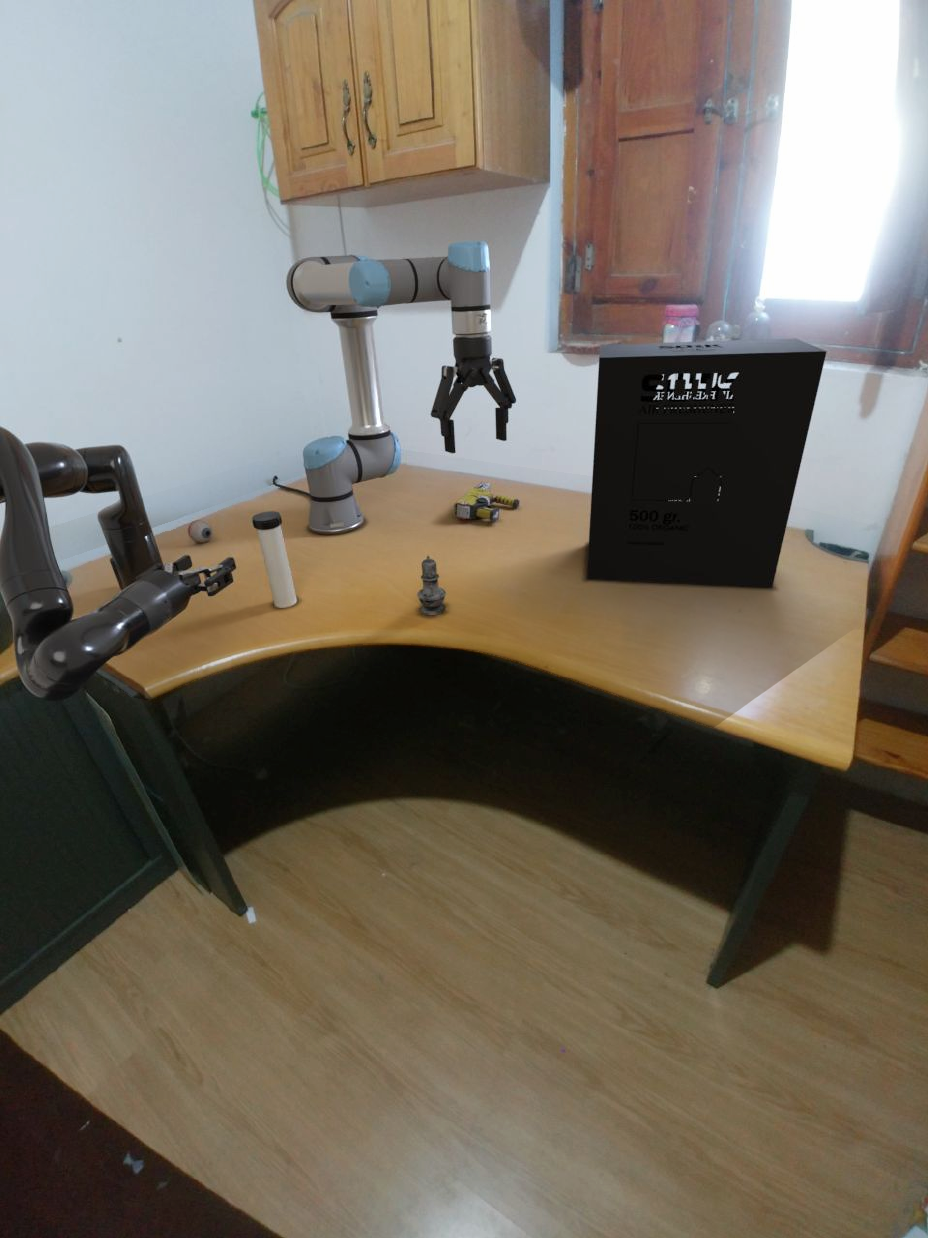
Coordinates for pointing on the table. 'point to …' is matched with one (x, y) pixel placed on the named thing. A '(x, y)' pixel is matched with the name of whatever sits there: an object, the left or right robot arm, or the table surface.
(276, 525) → the lid
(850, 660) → the table surface
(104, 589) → the table surface
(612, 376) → the cardboard box
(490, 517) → the toy gun
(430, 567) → the salt shaker
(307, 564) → the table surface
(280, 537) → the bottle
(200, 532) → the eyeball
